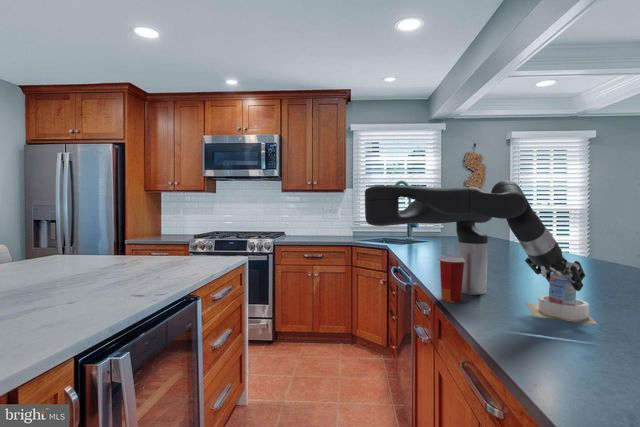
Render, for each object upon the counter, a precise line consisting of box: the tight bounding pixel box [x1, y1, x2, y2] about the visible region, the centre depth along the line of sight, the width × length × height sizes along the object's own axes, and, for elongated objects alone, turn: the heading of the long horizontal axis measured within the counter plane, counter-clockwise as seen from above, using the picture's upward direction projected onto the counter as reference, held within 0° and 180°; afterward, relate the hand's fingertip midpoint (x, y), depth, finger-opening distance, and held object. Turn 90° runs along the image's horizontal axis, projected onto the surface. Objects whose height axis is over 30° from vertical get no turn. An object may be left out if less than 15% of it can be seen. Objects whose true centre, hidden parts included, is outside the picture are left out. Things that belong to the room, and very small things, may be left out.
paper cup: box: [438, 254, 465, 304], centre depth 109 cm, size 8×8×14 cm
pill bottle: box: [548, 268, 577, 305], centre depth 96 cm, size 6×6×11 cm
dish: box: [538, 294, 590, 320], centre depth 96 cm, size 11×11×4 cm
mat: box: [525, 302, 598, 325], centre depth 96 cm, size 14×14×1 cm
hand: (566, 285), depth 96 cm, fingers closed on pill bottle, 6 cm apart
